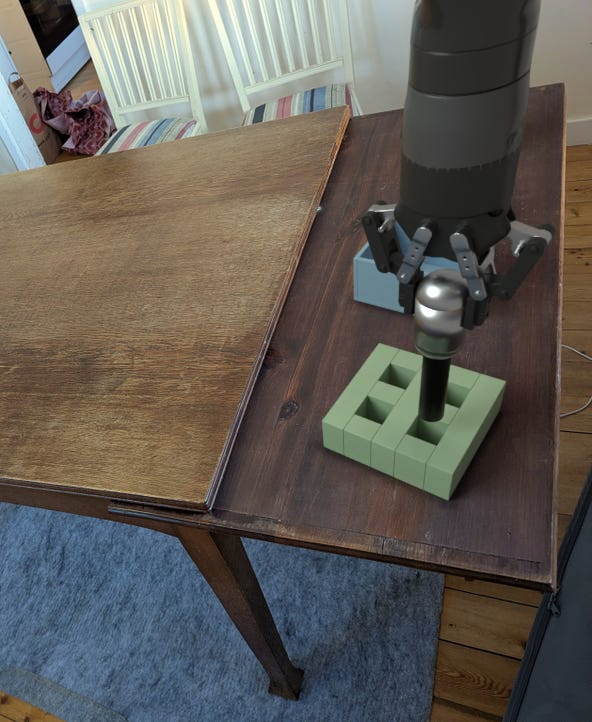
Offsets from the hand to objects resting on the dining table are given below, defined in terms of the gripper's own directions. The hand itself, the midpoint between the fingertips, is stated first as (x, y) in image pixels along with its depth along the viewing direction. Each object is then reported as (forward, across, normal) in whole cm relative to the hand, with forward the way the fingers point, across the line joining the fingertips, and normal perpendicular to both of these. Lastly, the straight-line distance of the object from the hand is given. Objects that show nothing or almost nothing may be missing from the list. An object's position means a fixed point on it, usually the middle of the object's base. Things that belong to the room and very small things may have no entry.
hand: (441, 315), depth 54 cm
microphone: (+14, 0, 0) cm, 14 cm away
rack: (+21, +3, -3) cm, 22 cm away
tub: (+21, +12, -27) cm, 36 cm away
